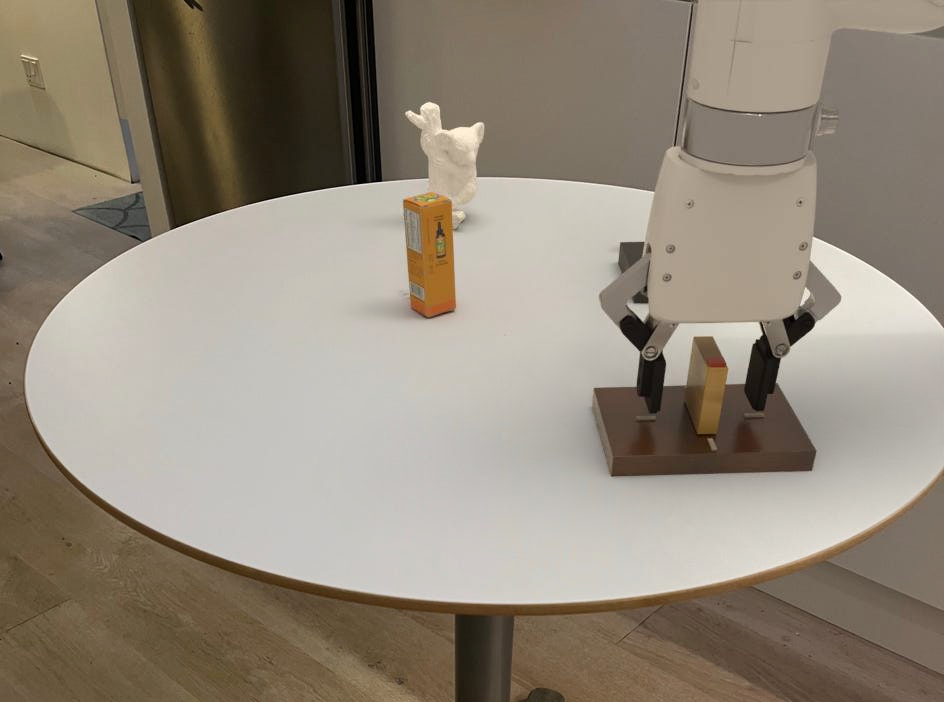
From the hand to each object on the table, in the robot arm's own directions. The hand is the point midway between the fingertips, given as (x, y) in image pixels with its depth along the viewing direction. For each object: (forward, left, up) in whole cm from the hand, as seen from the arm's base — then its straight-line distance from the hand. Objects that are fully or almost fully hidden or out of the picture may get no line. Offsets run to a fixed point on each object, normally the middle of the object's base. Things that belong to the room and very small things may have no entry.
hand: (702, 401), depth 72 cm
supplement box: (+19, -27, -4) cm, 33 cm away
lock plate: (0, 0, -4) cm, 4 cm away
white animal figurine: (+17, -50, -4) cm, 53 cm away
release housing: (-6, -32, -4) cm, 33 cm away
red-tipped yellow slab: (0, 0, -1) cm, 1 cm away
